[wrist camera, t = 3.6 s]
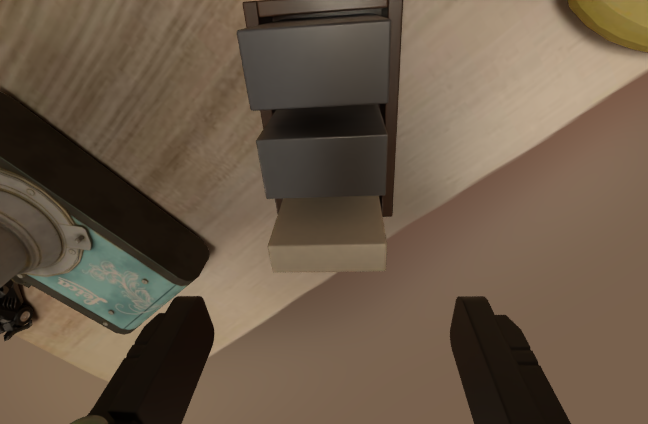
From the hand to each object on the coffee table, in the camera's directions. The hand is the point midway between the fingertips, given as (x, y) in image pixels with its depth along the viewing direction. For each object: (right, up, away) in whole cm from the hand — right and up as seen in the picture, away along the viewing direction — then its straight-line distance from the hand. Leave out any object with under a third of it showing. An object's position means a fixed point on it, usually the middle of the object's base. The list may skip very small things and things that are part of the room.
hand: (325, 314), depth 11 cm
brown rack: (0, +10, +9) cm, 13 cm away
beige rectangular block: (+1, +6, +10) cm, 12 cm away
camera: (-18, +3, +14) cm, 23 cm away
